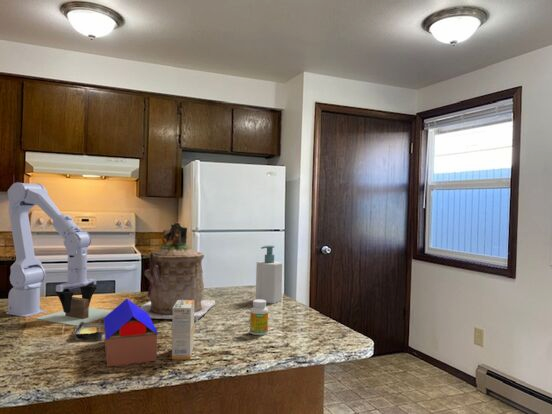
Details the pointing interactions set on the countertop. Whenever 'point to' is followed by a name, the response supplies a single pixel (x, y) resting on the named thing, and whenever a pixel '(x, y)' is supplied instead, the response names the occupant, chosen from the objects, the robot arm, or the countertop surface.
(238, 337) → the countertop surface
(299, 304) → the countertop surface
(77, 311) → the walnut slab
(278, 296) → the soap bottle
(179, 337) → the supplement box
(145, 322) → the house
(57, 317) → the mat
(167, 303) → the brown textured pot
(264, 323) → the supplement bottle
